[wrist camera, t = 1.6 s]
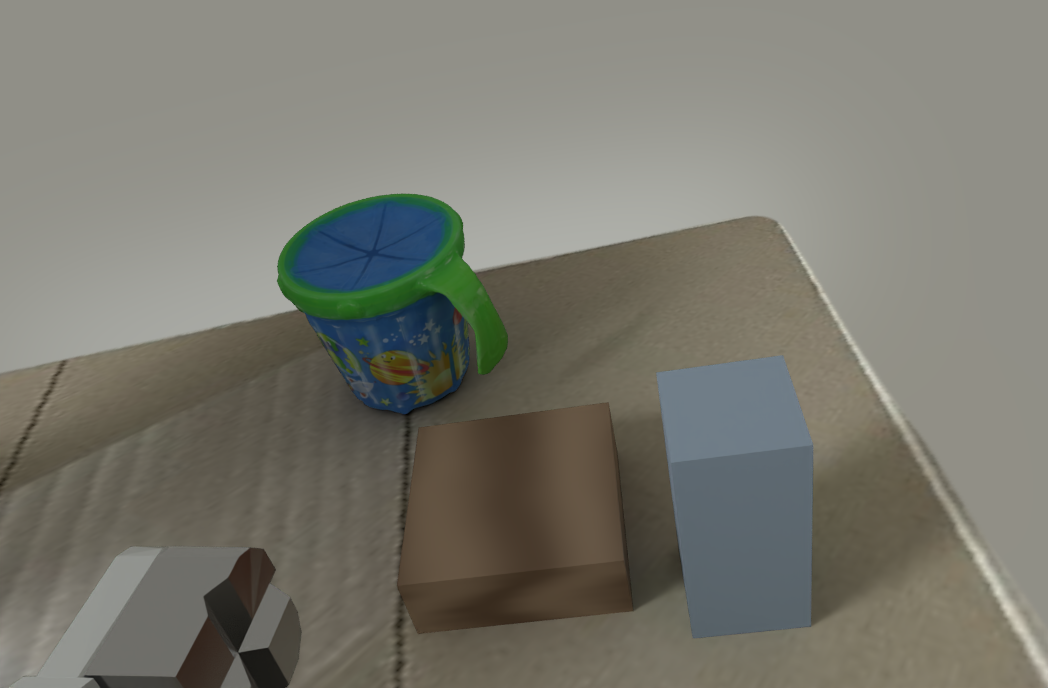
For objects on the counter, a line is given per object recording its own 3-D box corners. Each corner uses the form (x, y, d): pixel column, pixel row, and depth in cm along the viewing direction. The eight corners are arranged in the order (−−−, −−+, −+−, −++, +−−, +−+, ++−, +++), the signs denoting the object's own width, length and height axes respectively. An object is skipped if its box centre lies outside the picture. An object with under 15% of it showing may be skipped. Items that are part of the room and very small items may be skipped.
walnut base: (419, 638, 43) (396, 585, 40) (437, 479, 51) (418, 427, 48) (634, 615, 42) (624, 560, 39) (617, 456, 49) (608, 402, 47)
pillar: (692, 638, 40) (671, 462, 33) (678, 546, 44) (656, 372, 37) (811, 626, 39) (813, 445, 32) (785, 534, 43) (782, 355, 36)
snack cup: (562, 369, 55) (532, 225, 49) (439, 480, 50) (388, 335, 44) (394, 297, 65) (351, 169, 59) (276, 384, 59) (215, 253, 53)
